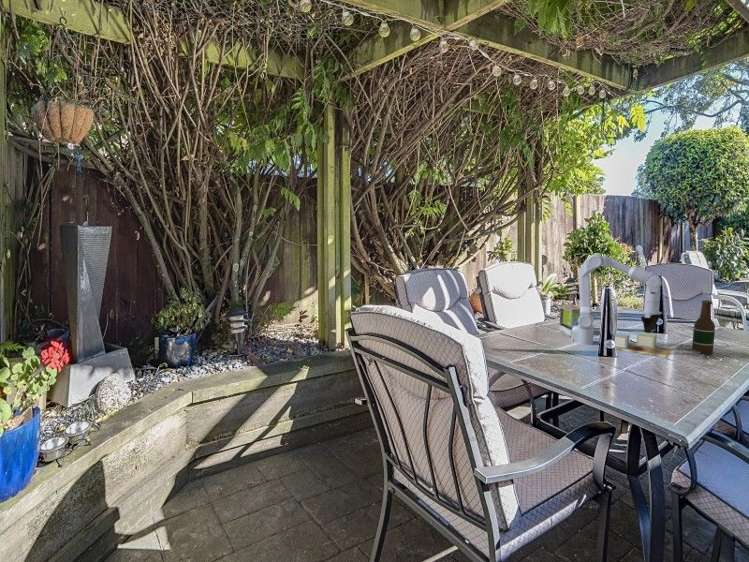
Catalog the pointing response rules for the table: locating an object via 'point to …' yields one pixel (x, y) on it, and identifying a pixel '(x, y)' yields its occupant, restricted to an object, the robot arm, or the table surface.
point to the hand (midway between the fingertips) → (649, 331)
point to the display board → (647, 350)
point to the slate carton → (622, 341)
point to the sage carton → (646, 340)
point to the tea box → (569, 318)
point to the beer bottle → (704, 330)
